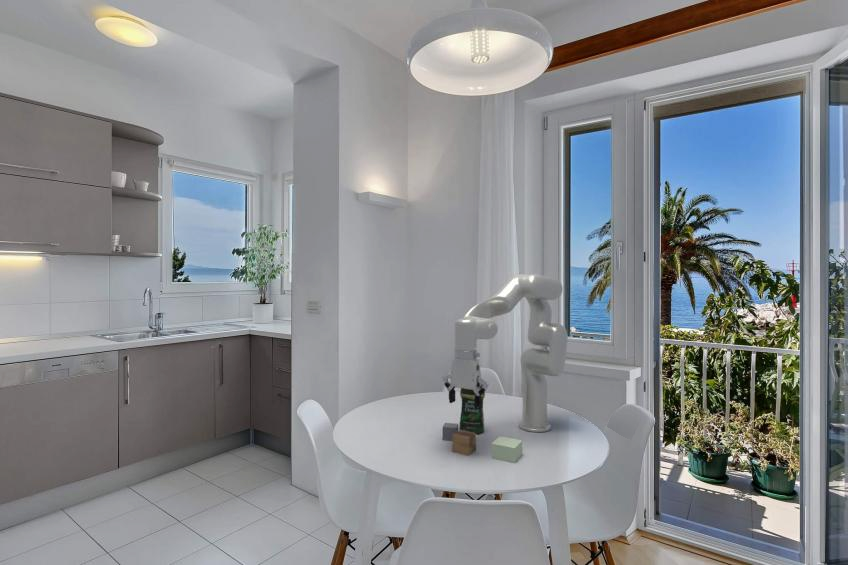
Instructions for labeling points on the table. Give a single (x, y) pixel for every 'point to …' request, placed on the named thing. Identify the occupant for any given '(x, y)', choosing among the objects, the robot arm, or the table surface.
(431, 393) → the table surface
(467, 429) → the coffee jar
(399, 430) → the table surface
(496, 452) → the sage block
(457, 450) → the walnut cube
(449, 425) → the charcoal block
